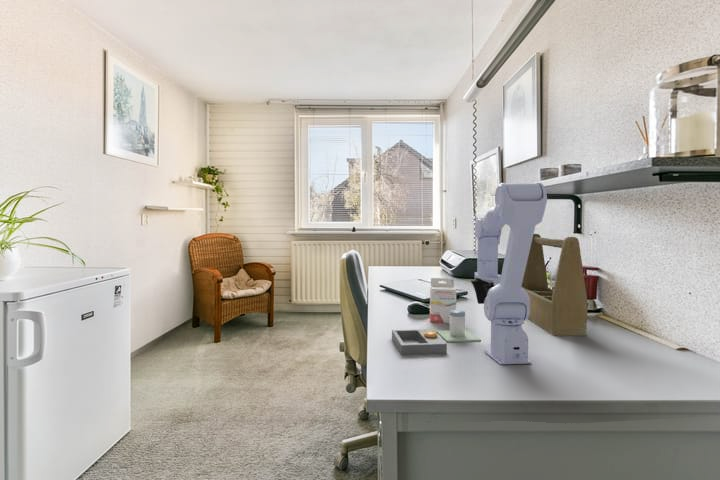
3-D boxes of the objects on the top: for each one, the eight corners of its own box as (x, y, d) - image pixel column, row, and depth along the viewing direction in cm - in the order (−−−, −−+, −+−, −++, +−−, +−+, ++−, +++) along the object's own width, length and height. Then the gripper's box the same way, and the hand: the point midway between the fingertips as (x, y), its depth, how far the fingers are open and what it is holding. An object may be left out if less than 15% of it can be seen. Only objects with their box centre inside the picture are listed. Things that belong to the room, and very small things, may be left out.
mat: (480, 341, 110) (480, 339, 110) (446, 342, 109) (446, 340, 109) (467, 331, 120) (467, 329, 120) (436, 332, 119) (436, 330, 119)
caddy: (588, 336, 115) (590, 236, 113) (551, 335, 115) (553, 236, 114) (546, 313, 144) (548, 233, 143) (517, 313, 145) (519, 233, 143)
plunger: (438, 345, 105) (438, 335, 105) (426, 345, 105) (426, 335, 104) (435, 341, 108) (435, 331, 108) (422, 341, 108) (422, 331, 108)
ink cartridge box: (430, 322, 130) (431, 279, 130) (429, 319, 135) (429, 277, 135) (456, 323, 130) (456, 280, 129) (454, 319, 134) (454, 278, 134)
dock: (446, 353, 100) (446, 343, 100) (401, 354, 99) (401, 345, 99) (431, 337, 114) (431, 329, 114) (391, 338, 113) (391, 330, 112)
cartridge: (463, 337, 112) (463, 314, 111) (448, 336, 113) (448, 312, 113) (465, 333, 116) (466, 310, 115) (451, 332, 117) (451, 309, 117)
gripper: (512, 262, 105) (511, 311, 106) (490, 257, 120) (489, 300, 120) (488, 262, 105) (487, 312, 105) (468, 258, 119) (467, 301, 120)
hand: (486, 306), depth 113 cm, fingers open, 7 cm apart
